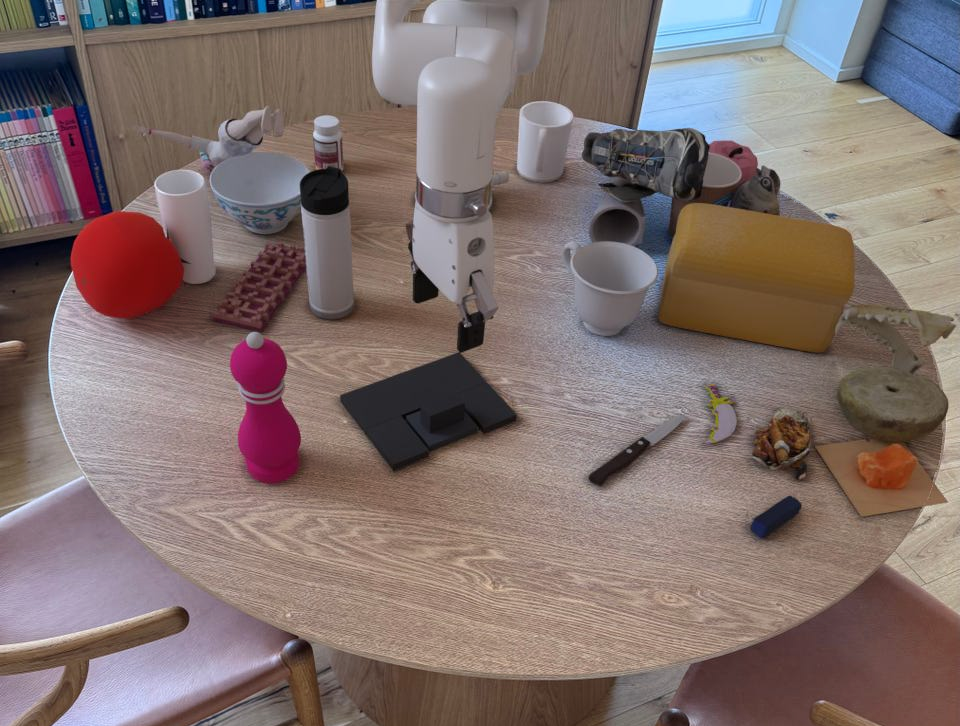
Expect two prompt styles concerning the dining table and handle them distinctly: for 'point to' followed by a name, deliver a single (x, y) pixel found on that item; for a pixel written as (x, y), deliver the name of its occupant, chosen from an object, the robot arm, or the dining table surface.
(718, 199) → the coffee cup
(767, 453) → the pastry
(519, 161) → the mug
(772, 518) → the eraser
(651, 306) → the dining table surface
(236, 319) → the chocolate bar
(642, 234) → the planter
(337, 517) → the dining table surface
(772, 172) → the figurine
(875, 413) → the weight
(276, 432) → the pepper mill
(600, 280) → the teacup
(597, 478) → the kitchen knife
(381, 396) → the black u-shaped block
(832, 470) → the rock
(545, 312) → the dining table surface
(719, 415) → the decorative knife
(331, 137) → the pill bottle
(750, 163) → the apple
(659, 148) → the running shoe
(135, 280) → the tomato
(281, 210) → the chinaware
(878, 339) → the jawbone
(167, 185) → the drinking glass
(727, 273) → the bread
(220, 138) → the figurine
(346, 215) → the travel mug
